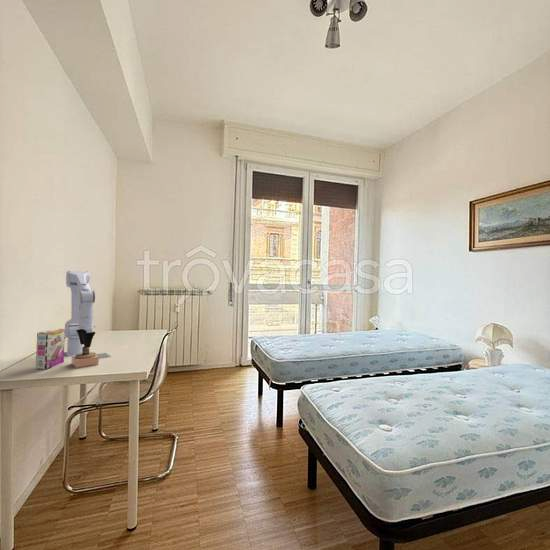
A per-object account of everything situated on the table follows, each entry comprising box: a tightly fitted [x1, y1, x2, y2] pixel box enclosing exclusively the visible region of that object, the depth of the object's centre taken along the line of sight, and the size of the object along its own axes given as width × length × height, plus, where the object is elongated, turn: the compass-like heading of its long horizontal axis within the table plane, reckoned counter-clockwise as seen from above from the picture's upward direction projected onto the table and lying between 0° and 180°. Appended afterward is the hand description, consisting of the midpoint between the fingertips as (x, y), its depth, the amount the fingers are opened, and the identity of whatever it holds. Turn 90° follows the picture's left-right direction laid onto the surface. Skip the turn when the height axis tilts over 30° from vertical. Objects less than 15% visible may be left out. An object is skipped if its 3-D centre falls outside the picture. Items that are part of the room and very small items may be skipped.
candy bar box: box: [35, 328, 66, 370], centre depth 138 cm, size 11×5×16 cm, turn 178°
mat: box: [96, 352, 112, 360], centre depth 154 cm, size 10×10×1 cm
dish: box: [71, 355, 100, 369], centre depth 140 cm, size 9×9×4 cm
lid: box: [75, 347, 96, 359], centre depth 141 cm, size 8×8×4 cm
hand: (85, 345), depth 141 cm, fingers open, 7 cm apart
